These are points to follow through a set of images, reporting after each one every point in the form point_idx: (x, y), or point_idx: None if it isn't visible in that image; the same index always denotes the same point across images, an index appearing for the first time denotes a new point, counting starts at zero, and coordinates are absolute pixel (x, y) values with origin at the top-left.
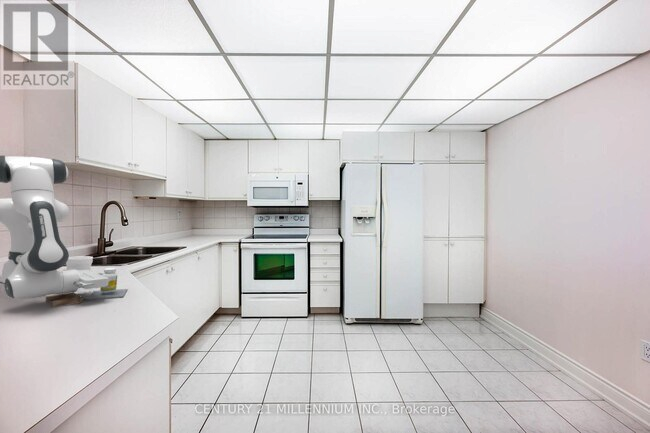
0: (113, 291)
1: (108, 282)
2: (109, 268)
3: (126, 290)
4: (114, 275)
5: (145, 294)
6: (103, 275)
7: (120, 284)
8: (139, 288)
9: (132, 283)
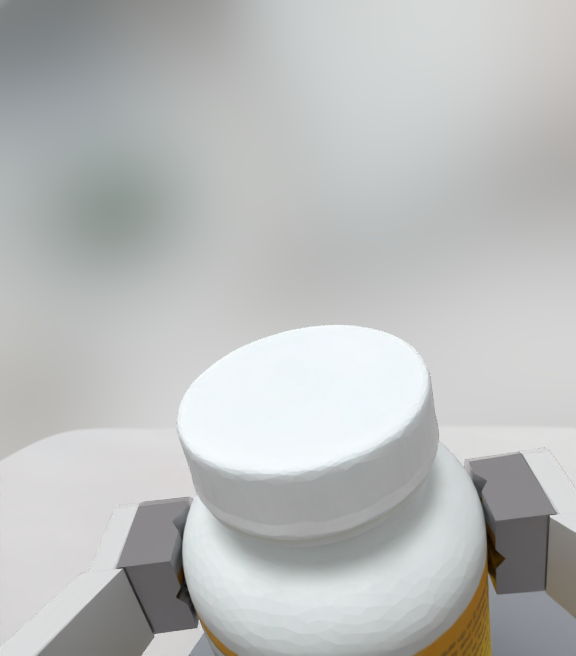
0: None
1: (490, 648)
2: (239, 390)
3: None
4: (454, 456)
5: (570, 441)
6: (377, 626)
7: (20, 515)
8: None
9: (87, 446)
